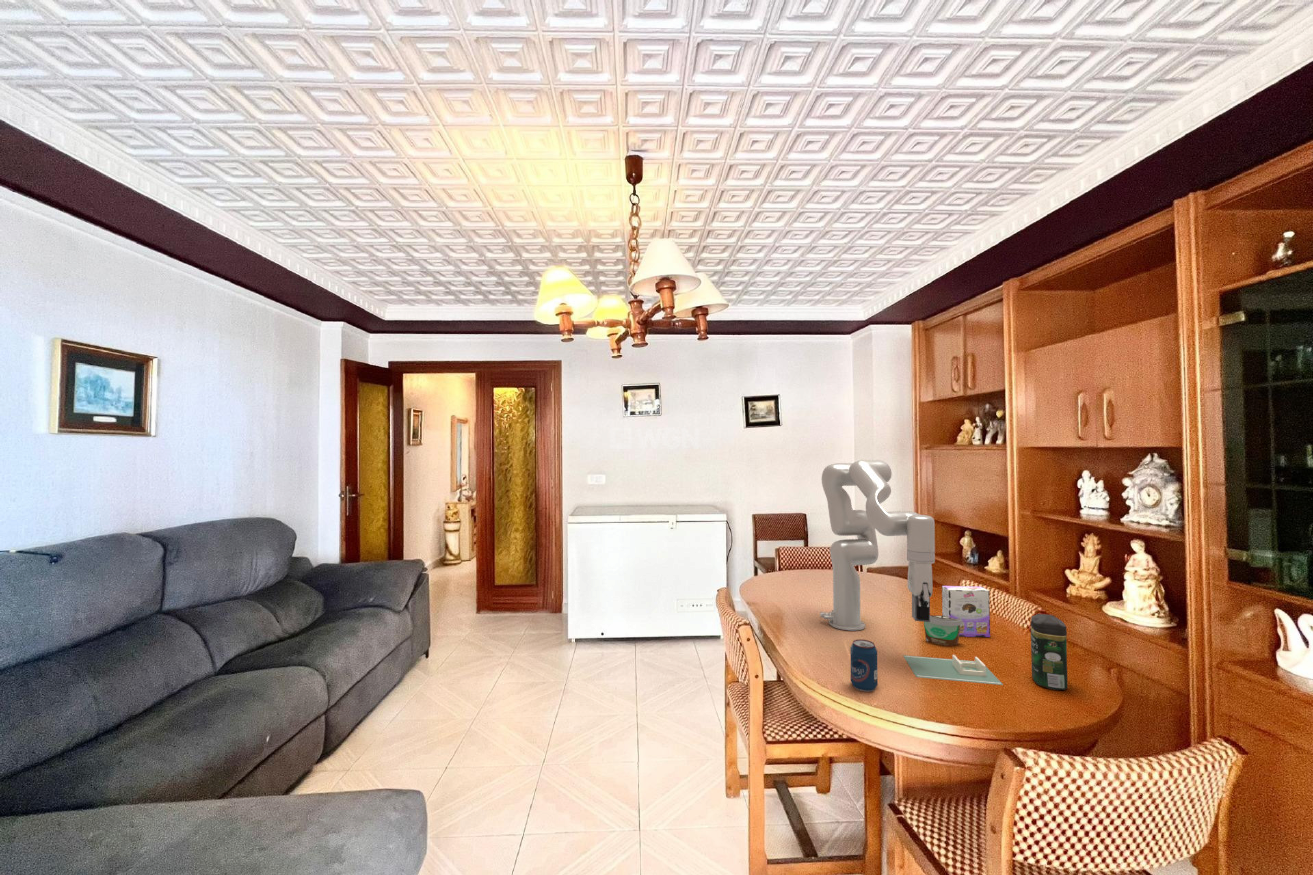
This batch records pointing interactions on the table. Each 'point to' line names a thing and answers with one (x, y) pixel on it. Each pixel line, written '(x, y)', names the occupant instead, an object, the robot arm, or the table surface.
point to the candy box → (968, 609)
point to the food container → (942, 630)
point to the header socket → (977, 665)
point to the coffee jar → (1049, 651)
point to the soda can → (864, 665)
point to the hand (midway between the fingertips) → (920, 616)
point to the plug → (914, 608)
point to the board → (946, 670)
